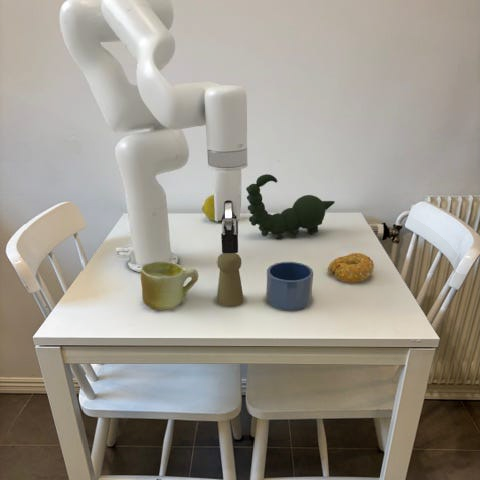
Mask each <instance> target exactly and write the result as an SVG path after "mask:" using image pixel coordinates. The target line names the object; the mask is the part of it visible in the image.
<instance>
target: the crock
mask: <svg viewBox="0 0 480 480" xmlns="http://www.w3.org/2000/svg"><path fill="white" fill-rule="evenodd" d="M313 283H314V270H313V268H311V267H310V266H309V265H307V264H304V263H301V262H297V261H296V262H295V261H281V262H275V263H274V264H272V265H269V267H268V268H267V269H266V290H265V291H266V292H265V293H266V294H265V295H266V302H267V304H268V305H269V306H270V307H271V308H275V309H277V310H281V311H285V312H286V311H287V312H293V311H300V310H303V309H305V308H307V307H309V306H310V304H311V302H312V297H313V296H312V294H313Z"/></svg>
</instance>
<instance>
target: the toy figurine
mask: <svg viewBox="0 0 480 480" xmlns="http://www.w3.org/2000/svg"><path fill="white" fill-rule="evenodd" d="M269 182H273V183H278V179H277V178H276V177H275V176H274V175H273V174H270V173H269V174H267V173H266V174H261V175H260V176H259V177H257V179H256V182H255V183H251V184H250V185H248V186H246V188H245V190H246V192H247V194H248V195H247V196H246V199H247V201H248V203H249V205H247V210H248V211H249V214H251V215H250V216H249V218H248V221H249V223H250V225H251V226H253V227H255V226H258V230H259V232H261V235H262V236H263V237H267V236H269V233H271V234H272V235H274V236H276V237H275V238H276V239H279V240H280V239H282V238H283V237H284V234H285V233H286V232H287V233H289V234H290V235H291V236H292V237H297V236H298V235H299V233H300V228H301V229H304V230H306V231H307V232H308V233H309V234H312V235H315V234H317V232H319V226H320V225H322V224H323V221H324V219H325V215H326V211H327V210H328V209H329V208H330V207H332V206H333V205H334V204H335V200H322V199H321V198H320V197H318V196H315V195H312V194H306V195H302V196H301V197H299V198H297V199H296V200H295V201H294V202H293V204H292V207H288V208H285V209H284V210H281V211H282V212H276V213H273V214H271V213H269V212H268V210H266V206H265V204H264V201H263V195H262V193H261V188H263V187H264V186H265V185H266V184H267V183H269ZM260 187H261V188H260Z"/></svg>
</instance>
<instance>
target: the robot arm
mask: <svg viewBox="0 0 480 480" xmlns="http://www.w3.org/2000/svg"><path fill="white" fill-rule="evenodd" d="M173 23H174V8H173V5H172V2H171V0H65V1H64V2H63V3H62V5H61V6H60V9H59V27H60V32H61V36H62V40H63V41H64V44H65V47H66V48H67V51H68V53H69V55H70V56H71V58H72V60H73V61H74V63H75V64H76V65H77V67H78V69H79V70H80V72H81V73H82V75H83V76H84V78H85V79H86V82H87V84H88V86H89V89H90V90H91V91H90V92H91V93H92V94H93V97H94V99H95V102H96V104H97V106H98V108H99V111H100V112H101V115H102V117H103V119H104V121H105V122H106V125H107V126H108V128H109V129H110V130H111V131H113V132H115V133H120V134H122V133H123V134H124V133H132V134H129V135H126V136H124V137H123V138H121V139H120V140H119V141H118V142H117V144H116V145H115V150H114V155H115V156H114V157H115V161H116V164H117V167H118V170H119V174H120V178H121V180H122V186H123V190H124V196H125V203H126V210H127V217H128V225H129V233H130V239H131V240H130V241H131V245H129V246H128V247H121V246H119V247H116V248H115V254H116V255H117V256H118V257H119V259H125V258H126V259H127V264H128V267H129V269H131V270H132V271H134V272H137V273H141V268H142V266H143V265H144V264H146V263H151V262H153V261H168V262H173V263H177V264H178V263H179V257H178V255H177V254H176V253H175V252H173V251H172V246H171V236H170V225H169V214H168V203H167V202H168V201H167V195H166V191H165V189H164V187H163V186H162V185H161V183H160V182H159V181H158V179H157V176H158V175H161V174H165V173H169V172H173V171H177V170H180V169H182V168H183V167H185V166H186V165H187V163H188V161H189V159H190V149H189V145H188V141H187V138H186V136H185V134H184V129H189V128H195V127H203V126H205V133H206V134H205V135H206V151H207V152H206V153H207V168H208V169H210V170H213V195H214V206H215V221H214V222H216V223H219V222H221V233H220V237H221V239H220V240H221V254H223V253H236V254H238V253H239V221H240V219H241V218H240V217H241V209H242V208H241V207H242V170H244V169H246V168H248V165H249V164H248V114H247V113H248V107H247V106H248V105H247V103H248V102H247V98H248V97H247V92H246V89H245V88H244V87H243V86H240V85H234V84H231V85H230V84H219V83H216V82H214V81H200V82H186V83H177V84H171V83H170V82H168V80H167V79H166V78H165V77H164V75H163V74H162V73H161V71H163V69H164V68H166V67H167V65H168V64H169V63H170V62H171V61H172V59H173V57H174V54H175V51H176V41H175V38H174V36H173V34H172V32H171V31H170V29H171V28H172V26H173ZM118 42H119V43H122V44H123V46H124V47H125V48H126V50H127V51H128V52H129V54H130V55H131V56H132V58H133V59H134V60H135V61H136V62H137V64H136V71H135V78H136V79H135V80H136V85H135V84H132V83H131V82H130V80H129V79H128V77H127V75H126V72H125V70H124V68H123V66H122V64H121V63H120V62H119V60H118V59H117V58H116V56H115V55H114V54H112V52H110V50H108V49H107V48H105V47H104V46H103V45H102V44H101V43H118ZM144 130H148V131H144ZM138 131H143V132H138ZM133 132H136V133H133ZM221 219H222V220H221Z"/></svg>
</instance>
